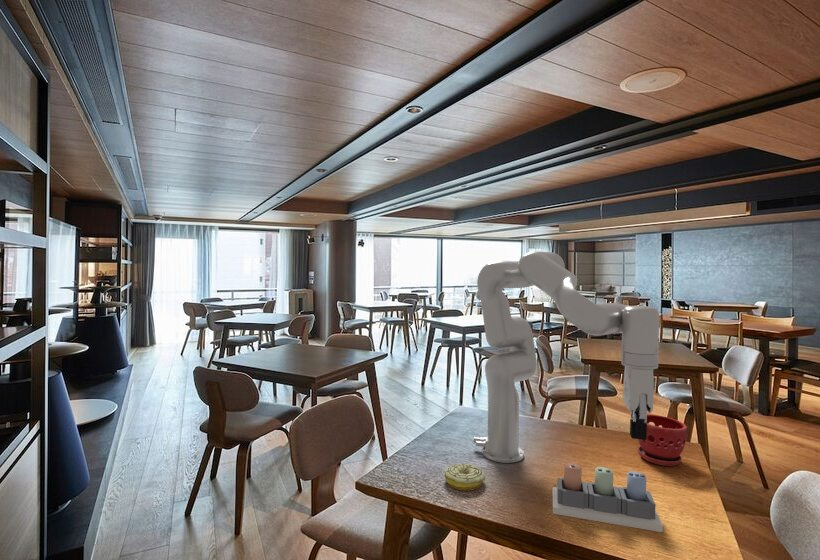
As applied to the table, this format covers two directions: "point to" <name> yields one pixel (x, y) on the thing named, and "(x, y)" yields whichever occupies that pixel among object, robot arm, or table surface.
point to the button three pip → (636, 486)
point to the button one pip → (572, 476)
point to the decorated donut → (464, 477)
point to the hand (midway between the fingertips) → (638, 437)
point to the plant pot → (663, 441)
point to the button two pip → (603, 481)
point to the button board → (606, 506)
